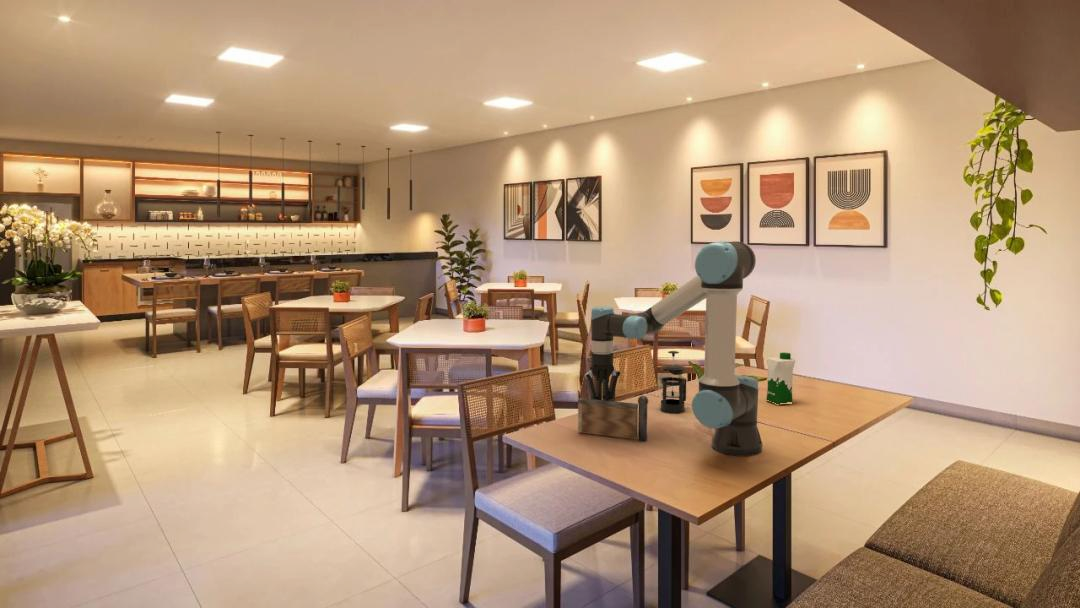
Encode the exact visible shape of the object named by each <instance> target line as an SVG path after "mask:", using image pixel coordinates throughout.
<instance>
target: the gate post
mask: <svg viewBox="0 0 1080 608" xmlns="http://www.w3.org/2000/svg"><path fill="white" fill-rule="evenodd" d="M637 404H638V422H637V440H638V442H641V443H645V442H648V404H649V398H648V397H647V396H645V395H640V396H639V397H638V399H637Z"/></svg>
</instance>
